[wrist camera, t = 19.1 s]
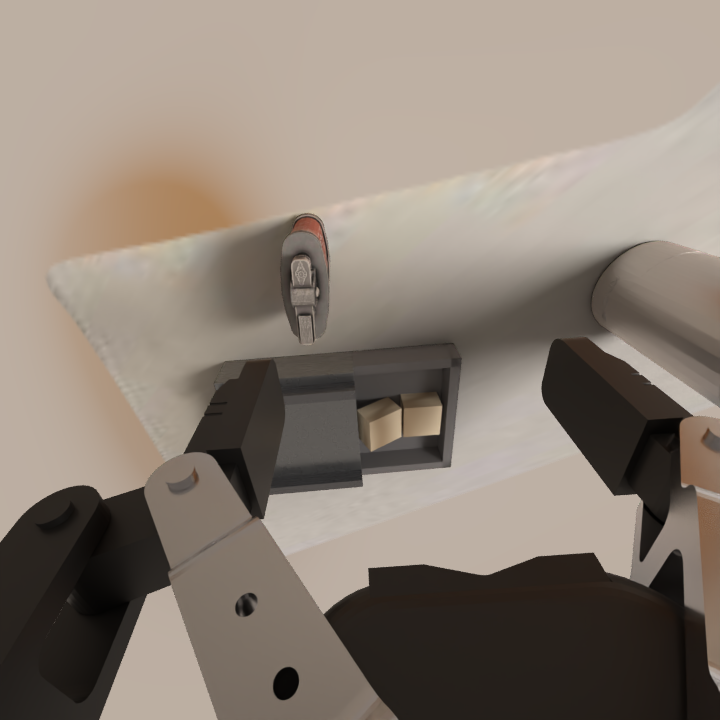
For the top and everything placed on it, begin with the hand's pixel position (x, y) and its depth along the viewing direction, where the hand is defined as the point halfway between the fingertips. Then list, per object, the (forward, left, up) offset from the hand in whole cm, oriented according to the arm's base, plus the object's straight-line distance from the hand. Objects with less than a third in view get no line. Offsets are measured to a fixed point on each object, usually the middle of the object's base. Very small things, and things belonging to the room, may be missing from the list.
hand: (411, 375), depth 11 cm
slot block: (+8, +20, -24) cm, 32 cm away
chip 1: (0, +20, -22) cm, 30 cm away
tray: (-4, +20, -24) cm, 31 cm away
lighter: (+5, +3, -24) cm, 25 cm away
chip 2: (-5, +20, -21) cm, 29 cm away
